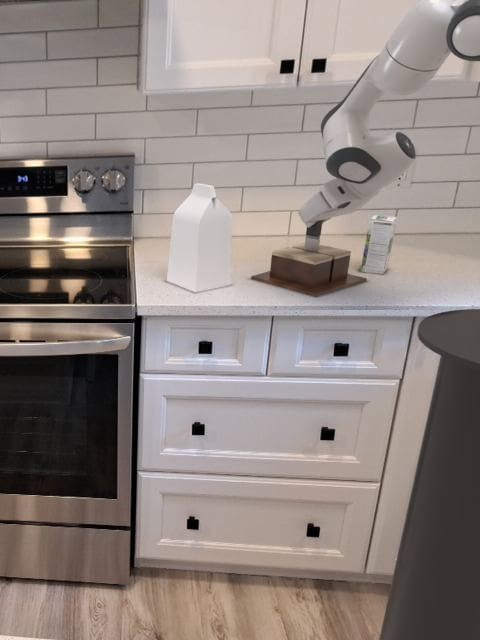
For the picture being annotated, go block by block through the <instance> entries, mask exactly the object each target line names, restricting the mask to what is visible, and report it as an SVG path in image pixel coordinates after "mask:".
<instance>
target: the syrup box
mask: <svg viewBox="0 0 480 640" xmlns="http://www.w3.org/2000/svg"><path fill="white" fill-rule="evenodd" d="M397 221H398V217H397V216H390V215H386V214H385V215H384V214H376V215H373V216H372V217H371V218H370V219H369V222H368V227H367V232H366V237H365V243H364V248H363V255H362V260H361V265H360V272H361V273H366V274H377V275H384V274H385V273H386V271H387V270H388V267H389V262H390V257H391V251H392V247H393V241H394V235H395V231H396V226H397Z"/></svg>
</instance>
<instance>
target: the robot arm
mask: <svg viewBox="0 0 480 640" xmlns="http://www.w3.org/2000/svg"><path fill="white" fill-rule="evenodd" d="M451 54H453V55H454V56H455V57H456V58H459V59H460V60H462V61H463V60H464V61H467V62H480V0H418V1H417V2H416V3H415V5H413V7H411V9H410V10H409V11H408V12H407V13H406V15H405V16H404V17H403V19H402V20H401V21H400V23H399V24H398V25H397V26H396V28H395V29H394V31H393V32H392V33H391V35H390V37H389V38H388V40H387V41H386V43H385V45H384V46H383V48H382V50H381V51H380V53H379V54H377V56H376V57H375V58H373V60H372V61H370V63H369V64H368V65H367V66H366V68H365V70H364V71H363V72H362V73H361V75H360V76H359V77H358V79H356V82H355V83H354V84H353V86H352V87H351V89H350V90H349V92H348V93H347V94H346V95H345V97H344V98H343V99H342V100H341V101H340V102H339V103H338V104H337V105H335V106H334V107H333V108H332V109H330V110H329V111H328V112H326V114H325V116H324V117H323V119H322V121H321V123H320V133H321V137H322V141H323V142H322V143H323V153H324V162H325V168H326V171H327V172H328V173H329V174H330V175H331V176H332V177H334V178H333V179H331V180H328V181H327V182H325V183H323V184H322V185H321V186H320V187H319V191H317V192H316V193H315V194H314V195H312V196H311V197H310V198H309V199H308V200H307V201H306V202H305V203H304V204H303V205H302V206H301V207H300V208H299V209H298V212H297V214H298V216H299V218H300V220H301V221H302V223H303V224H305V226H306V228H307V227H308V228H309V227H313V226H314V225H315V224H316V222H317V221H319V220H323V222H322V225H324V224H325V223H326V222H327V221H330V220H331V219H333V218H336V217H340V216H345V215H348V214H352V213H354V212H355V213H356V211H358V210H359V209H361V208H363V206H365V205H366V204H368V203H369V202H370V201H371V200H373V199H374V198H375V197H377V195H378V194H379V193H380V192H381V190H382V189H383V188H385V187H387V186H389V185H391V184H392V183H394V182H395V181H396V180H397V179H398V178H400V177H401V176H402V175H404V173H405V172H406V171H407V170H408V169H409V168H410V167H411V166H412V165H413V163H414V162H415V160H416V156H417V153H416V149H415V145H414V143H413V142H412V140H411V139H410V138H409V136H407V135H406V134H405V133H403V132H401V131H396V132H394V133H392V134H388V135H382V136H371V133H370V132H371V131H370V117H371V112H372V109H373V108H374V107H375V106H376V104H377V103H378V102H379V101H380V99H381V98H382V97H383V95H384V94H389V95H393V96H408V95H412V94H415V93H417V92H420V91H421V90H422V89H424V87H426V86H427V85H428V84H429V83H430V82H431V81H432V79H433V78H434V77H435V75H437V73H438V71H439V70H440V68H441V67H442V66H443V64H444V63H445V62H446V60H447V59H448V57H449V56H450V55H451Z"/></svg>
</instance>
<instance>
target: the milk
mask: <svg viewBox="0 0 480 640" xmlns="http://www.w3.org/2000/svg"><path fill="white" fill-rule="evenodd" d="M171 224H172V225H171V234H170V244H169V254H168V264H167V275H166V282H168V283H171V284H174V285H176V286H179V287H181V288H184V289H186V290H189V291H191V292H194V293H199V292H203V291H207V290H212V289H217V288H222V287H227V286H231V285H232V249H233V247H232V245H233V243H232V241H233V215H232V212H231V211H230V210H229V209H228V208H227V207H226V205H224V204H223V202H221V201H220V200H219V199H218V198H217V193H216V189H215V186H214V185H211V184H205V183H201V182H197V183H194V184H193V186H192V189H191V193H190V195H188V196H187V198H185V200H184V201H183V202H182V203H181V204H180V205H179V206H178V207H177V209H175V211H174V213H173V215H172V223H171Z"/></svg>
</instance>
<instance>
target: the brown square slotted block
mask: <svg viewBox="0 0 480 640" xmlns="http://www.w3.org/2000/svg"><path fill="white" fill-rule="evenodd" d="M304 247H305V242H303V243H299V244H295V245H291V246H287V247H283V248H279V249H275V250H272V252H271V260H270V268H269V271H265V272H261V273H257V274H254V275H251V276H250V279H251V280H253V281H257V282H260V283H264V284H267V285H272V286H275V287H279V288H281V289H286V290H289V291H293V292H297V293H299V294H304V295H306V296H307V295H308V296H311V297H316V298H317V297H321V296H324V295H327V294H331V293H333V292H338V291H341V290H344V289H347V288H351V287H353V286H357V285H360V284H363V283H367V278H366V277H363V276H358V275H356V274H355V275H354V274H350V273H349V269H350V268H349V267H350V260H351V254H352V250H347V249H342V248H337V247H333V246H328V245H323V244H319V252H318V253H314V252H310V251H305V250H304Z"/></svg>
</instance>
